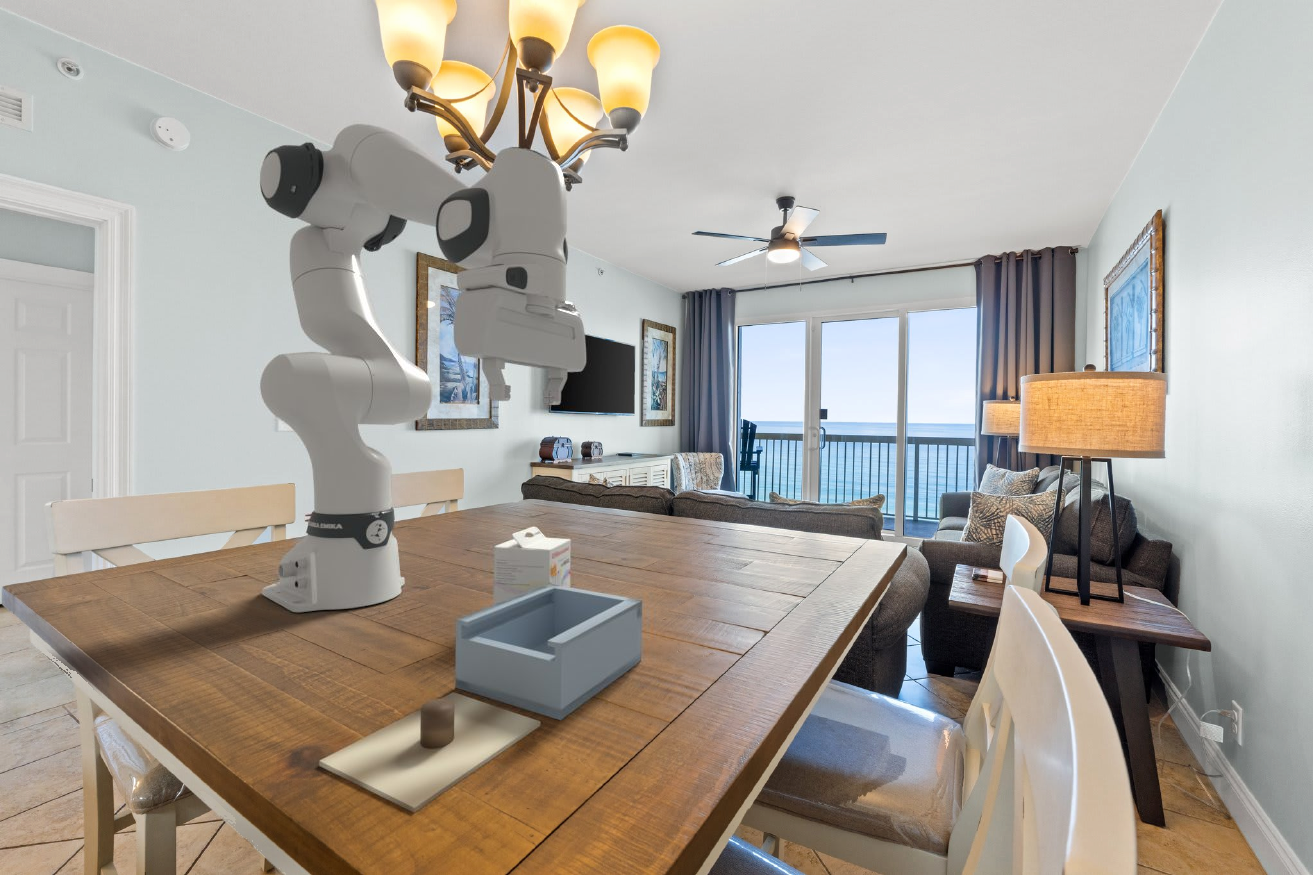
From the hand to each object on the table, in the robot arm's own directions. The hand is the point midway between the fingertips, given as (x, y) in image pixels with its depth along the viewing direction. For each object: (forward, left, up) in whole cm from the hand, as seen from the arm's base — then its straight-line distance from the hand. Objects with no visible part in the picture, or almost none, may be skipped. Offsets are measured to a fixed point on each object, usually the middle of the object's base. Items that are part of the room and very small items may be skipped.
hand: (527, 402), depth 69 cm
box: (+6, -2, -31) cm, 32 cm away
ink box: (-7, +10, -31) cm, 34 cm away
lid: (+6, -18, -32) cm, 37 cm away
